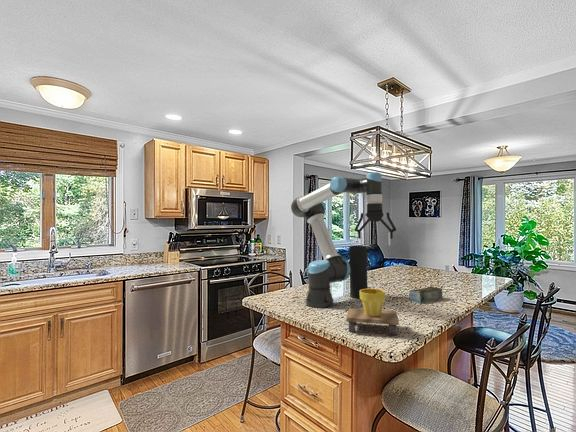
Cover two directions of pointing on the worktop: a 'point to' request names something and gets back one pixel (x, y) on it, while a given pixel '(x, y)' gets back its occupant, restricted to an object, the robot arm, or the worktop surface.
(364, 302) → the plant pot
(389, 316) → the shelf stand
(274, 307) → the worktop surface
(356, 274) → the vase
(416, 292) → the beverage carton
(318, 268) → the robot arm
